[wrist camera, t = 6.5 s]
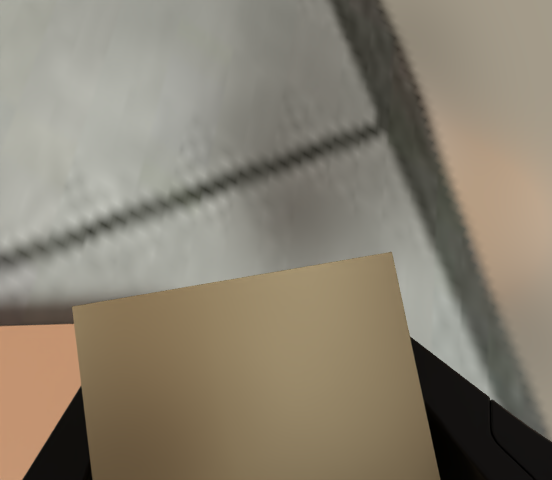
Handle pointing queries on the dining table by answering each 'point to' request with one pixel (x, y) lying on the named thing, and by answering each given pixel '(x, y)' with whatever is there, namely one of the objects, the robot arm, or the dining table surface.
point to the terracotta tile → (33, 390)
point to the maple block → (257, 379)
